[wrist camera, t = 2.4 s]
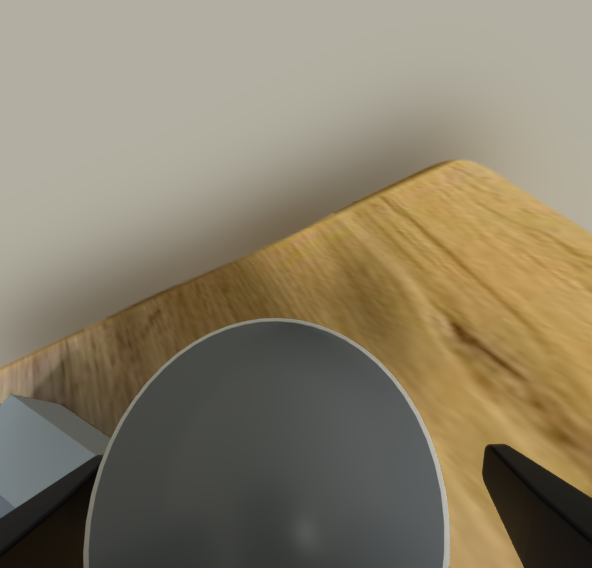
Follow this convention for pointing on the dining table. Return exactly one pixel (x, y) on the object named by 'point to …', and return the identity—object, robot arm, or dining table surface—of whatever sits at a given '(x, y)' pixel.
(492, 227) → the dining table surface
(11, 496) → the socket
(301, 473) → the peg
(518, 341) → the dining table surface
